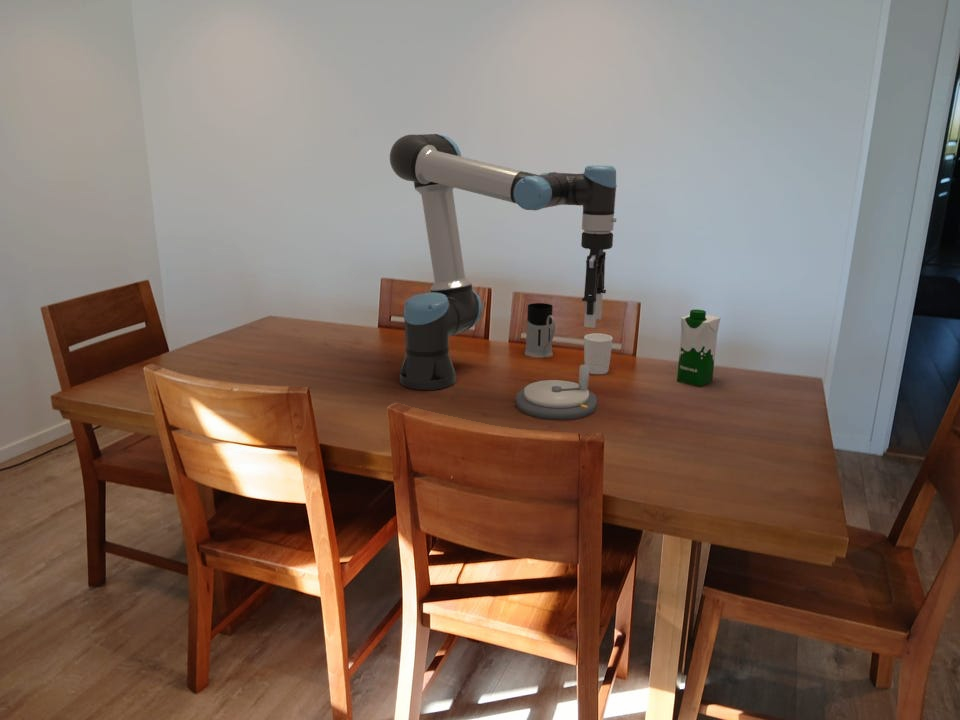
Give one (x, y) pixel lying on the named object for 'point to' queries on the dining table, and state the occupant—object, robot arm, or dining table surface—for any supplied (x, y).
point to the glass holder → (539, 330)
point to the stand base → (556, 412)
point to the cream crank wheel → (559, 391)
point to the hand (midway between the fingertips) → (592, 322)
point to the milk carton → (697, 348)
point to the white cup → (597, 352)
